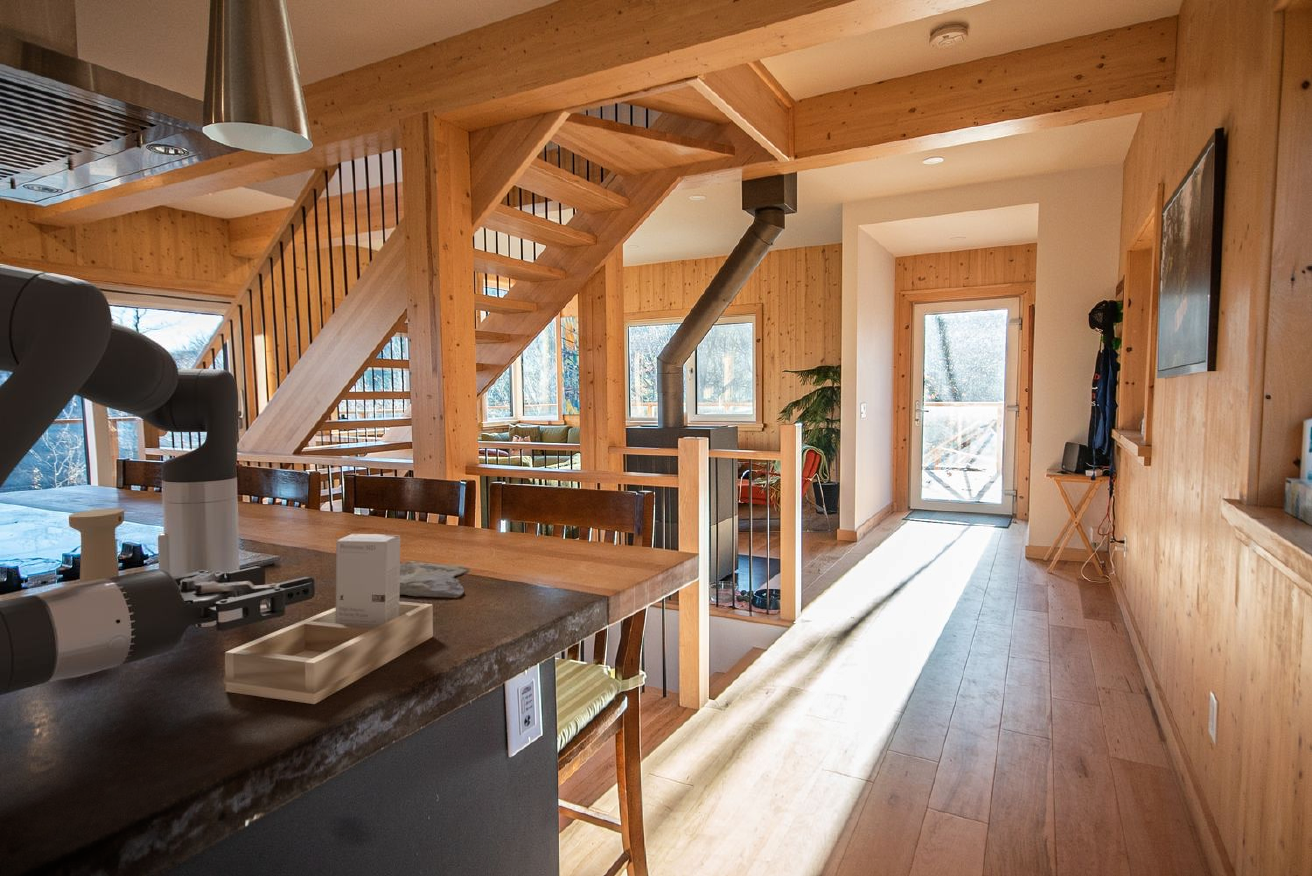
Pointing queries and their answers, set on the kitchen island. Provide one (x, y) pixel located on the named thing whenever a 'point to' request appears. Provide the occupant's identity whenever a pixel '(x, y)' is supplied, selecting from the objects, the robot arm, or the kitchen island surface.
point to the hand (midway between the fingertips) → (287, 581)
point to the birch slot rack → (322, 654)
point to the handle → (97, 542)
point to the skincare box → (367, 579)
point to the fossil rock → (430, 580)
